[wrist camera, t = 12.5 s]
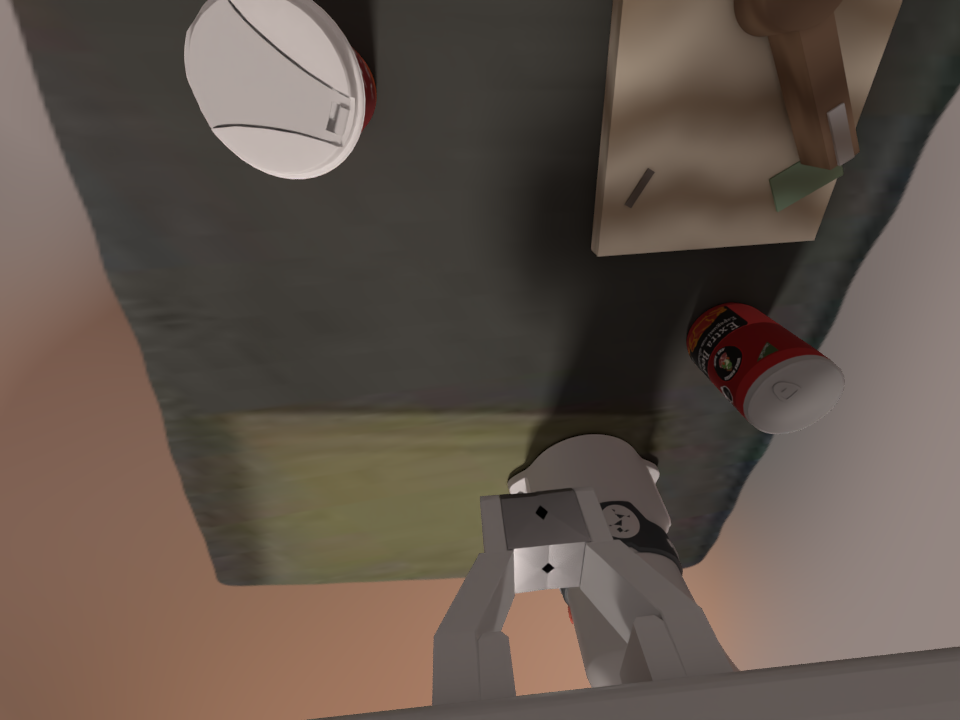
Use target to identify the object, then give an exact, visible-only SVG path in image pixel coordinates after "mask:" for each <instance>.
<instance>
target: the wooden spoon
mask: <svg viewBox="0 0 960 720" xmlns="http://www.w3.org/2000/svg"><path fill="white" fill-rule="evenodd" d="M842 1H843V0H734V13H735V17H736V20H737V22H738V24H739V26H740V27H741V28H742V30H743V31H745V32H746V33H747V34H749V35H752V36H755V37H765V36H768V40H769V44H770V48H771V52H772V55H773V59H774V63H775V67H776V71H777V75H778V78H779V82H780V86H781V90H782V94H783V98H784V101H785V105H786V109H787V113H788V117H789V121H790V124H791V128H792V132H793V136H794V140H795V144H796V147H797V151H798V155H799V159H800V163H801V164H803V165H808V166H813V167H818V168H823V169H827V170H832V169H833V168H835V167H836V166H841V165H842V164H844V163H846V162H847V161H849V160H850V159H852V158H854V157H855V156H854V155H856V154H857V153H859V152H860V151H859V145H858V140H857V134H856V129H855V124H854V118H853V113H852V107H851V102H850V96H849V91H848V86H847V80H846V75H845V69H844V64H843V58H842V53H841V48H840V42H839V37H838V31H837V26H836V21H835V15H834V11H835V9H836V8H837V7H838V6H839V5H840V3H841V2H842Z"/></svg>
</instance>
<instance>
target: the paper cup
mask: <svg viewBox="0 0 960 720" xmlns="http://www.w3.org/2000/svg"><path fill="white" fill-rule="evenodd" d="M184 60H185V69H186V75H187V80H188V82H189V84H190V86H191V88H192V91H193V93H194V95H195V98H196V100H197V102H198V104H199V106H200V109H201V111H202V113H203V115H204V116H205V118H206V120H207V122H208V124H209V125H210V127H211V129H212V131H213V132H214V133H215V135H216V136H217V137H218V138H219V139H220V140H221V141H222V142H223V143H224V144H225V145H226V146H227V147H228V148H229V149H230V150H231V151H232V152H234V153H235V154H236V155H237V156H238V157H240V158H241V159H242V160H244V161H245V162H247V163H248V164H250V165H251V166H253V167H255V168H257V169H259V170H261V171H263V172H265V173H268V174H271V175H274V176H277V177H282V178H288V179H307V178H313V177H317V176H320V175H323V174H325V173H327V172H329V171H331V170H332V169H334V168H336V167H337V166H338V165H339V164H341V163H342V162H343V161H344V160H345V159H346V158H347V157H348V155H349V154H350V153H351V152H352V150H353V148H354V147H355V145H356V143H357V141H358V139H359V136H360V133H361V132H362V131H363V129H364V128H365V127H366V125H367V124H368V122H369V121H370V119H371V117H372V115H373V113H374V110H375V106H376V86H375V82H374V78H373V76H372V73H371V71H370V69H369V67H368V65H367V64H366V62H365V61H364V60H363V58H362V57H361V56H360V55H359V54H358V53H357V52H356V51H355V50H354V49H353V48H352V46H351V45H350V44H349V42H348V40H347V38H346V37H345V35H344V34H343V32H342V31H341V29H340V28H339V27H338V25H337V24H336V23H335V21H334V20H333V19H332V18H331V17H330V16H329V15H328V14H327V13H326V12H325V10H323V9H322V8H321V7H320V6H319V5H317V4H316V3H315V2H314V1H313V0H208V1H207V2H206V3H205V4H204V5H203V6H202V8H201V10H200V11H199V13H198V15H197V17H196V18H195V20H194V21H193V23H192V24H191V26H190V27H189V29H188V30H187V33H186V40H185V50H184Z"/></svg>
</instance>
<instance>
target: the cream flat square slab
mask: <svg viewBox="0 0 960 720" xmlns="http://www.w3.org/2000/svg"><path fill="white" fill-rule="evenodd" d="M902 1H903V0H843V1H842V2H841V3H840V5H839V6H838V7H837V8H836V9H835V11H834V15H835V21H836V26H837V31H838V37H839V42H840V48H841V53H842V58H843V64H844V69H845V75H846V80H847V86H848V91H849V96H850V102H851V107H852V113H853V118H854V124H855V128H856V126H857V123H858V120H859V117H860V115H861V112H862V109H863V107H864V104H865V101H866V98H867V96H868V93H869V90H870V88H871V85H872V82H873V79H874V77H875V74H876V71H877V69H878V66H879V63H880V61H881V58H882V55H883V52H884V50H885V47H886V44H887V42H888V39H889V36H890V33H891V31H892V28H893V25H894V23H895V20H896V17H897V14H898V12H899V9H900V6H901V4H902ZM842 175H844V174H843V168H842V165H841V166H836V167H835V168H833V169H832V170H827V169H823V168H818V167H813V166H808V165H803V164H801V163H800V159H799V155H798V151H797V147H796V144H795V140H794V136H793V132H792V128H791V124H790V121H789V117H788V113H787V109H786V105H785V101H784V98H783V94H782V90H781V86H780V82H779V78H778V75H777V71H776V67H775V63H774V59H773V55H772V52H771V48H770V44H769V40H768V36H765V37H755V36H752V35H749V34H747V33H746V32H745V31H743V30H742V28H741V27H740V26H739V24H738V22H737V20H736V17H735V13H734V0H613V7H612V18H611V29H610V40H609V52H608V63H607V74H606V85H605V96H604V108H603V119H602V130H601V141H600V153H599V164H598V175H597V186H596V198H595V209H594V220H593V231H592V242H591V250H592V251H593V252H594V253H595V254H596V255H597V256H598V257H600V256H613V255H626V254H640V253H653V252H666V251H679V250H693V249H706V248H719V247H732V246H745V245H759V244H772V243H785V242H798V241H812V240H814V239H815V237H816V234H817V231H818V229H819V226H820V223H821V220H822V218H823V215H824V212H825V210H826V207H827V204H828V201H829V199H830V196H831V193H832V191H833V188H834V185H835V183H836V180H837V178H838V177H840V176H842Z"/></svg>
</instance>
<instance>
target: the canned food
mask: <svg viewBox="0 0 960 720" xmlns="http://www.w3.org/2000/svg"><path fill="white" fill-rule="evenodd" d="M687 349H688V352H689V355H690V357H691V359H692V361H693V362H694V363H695V364H696V365H697V366H698V367H699V369H700V370H701V371H702V372H703V373H704V374H705V375H706V376H707V377H708V378H709V379H710V381H711V382H712V383H713V384H714V385H715V386H716V387H717V388H718V389H719V390H720V391H721V393H722V394H723V395H724V396H725V397H726V398H727V399H728V400H729V401H730V402H731V403H732V405H733V406H734V407H735V408H736V409H737V410H738V411H739V412H740V413H741V414H742V415H743V416H744V417H745V418H746V419H747V420H748V421H749V423H751V424H752V425H753V426H754V427H756V428H757V429H758V430H760V431H763V432H765V433H770V434H785V433H791V432H794V431H798V430H801V429H803V428H806V427H808V426H810V425H812V424H813V423H815V422H817V421H818V420H820V419H821V418H822V417H824V416H825V415H826V414H827V413H828V412H829V411H831V409H832V408H833V407H834V406H835V405H836V403H837V402H838V400H839V399H840V397H841V395H842V392H843V390H844V383H845V380H844V375H843V373H842V371H841V369H840V368H839V367H838V366H836V364H834V363H833V362H832V361H831V360H830V359H828V358H827V357H826V356H824V355H823V354H822V353H820V352H819V351H817V350H816V349H814V348H813V347H811V346H810V345H809V344H807V343H806V342H804V341H803V340H801V339H800V338H798V337H797V336H795V335H794V334H792V333H791V332H789V331H788V330H787V329H785V328H784V327H782V326H781V325H779V324H778V323H776V322H775V321H773V320H772V319H770V318H769V317H768V316H766V315H765V314H763V313H762V312H760V311H759V310H757V309H756V308H754V307H752V306H749V305H745V304H741V303H725V304H721V305H718V306H715V307H713V308H711V309H709V310H708V311H706V312H705V313H703V314H702V315H701V316H700V317H699V318H698V319H697V320H696V321H695V322H694V324H693V325H692V327H691V329H690V330H689V333H688V336H687Z"/></svg>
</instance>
